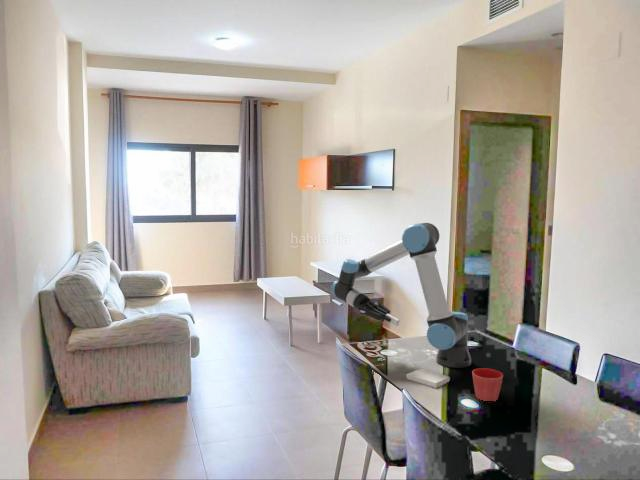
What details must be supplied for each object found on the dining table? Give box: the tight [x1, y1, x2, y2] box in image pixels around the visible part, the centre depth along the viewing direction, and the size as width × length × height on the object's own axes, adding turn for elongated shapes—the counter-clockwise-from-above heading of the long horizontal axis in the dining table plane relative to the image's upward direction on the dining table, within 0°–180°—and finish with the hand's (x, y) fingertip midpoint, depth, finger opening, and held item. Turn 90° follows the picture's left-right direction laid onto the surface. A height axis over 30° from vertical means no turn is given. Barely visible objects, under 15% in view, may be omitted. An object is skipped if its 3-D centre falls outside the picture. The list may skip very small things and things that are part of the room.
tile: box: [406, 368, 451, 389], centre depth 207 cm, size 10×2×14 cm
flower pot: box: [471, 367, 504, 402], centre depth 188 cm, size 11×11×10 cm
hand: (397, 322), depth 220 cm, fingers closed
